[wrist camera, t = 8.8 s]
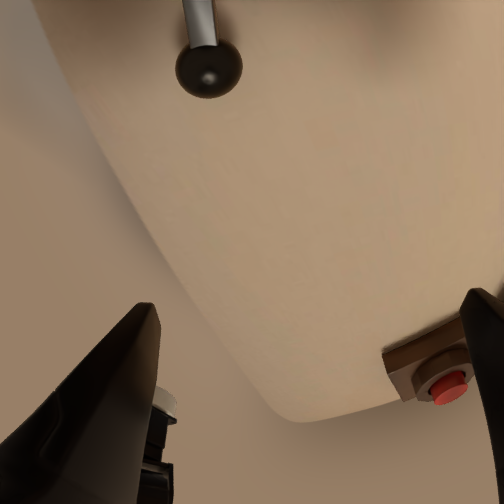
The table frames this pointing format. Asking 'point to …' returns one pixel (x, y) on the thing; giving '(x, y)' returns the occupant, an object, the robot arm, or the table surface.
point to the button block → (428, 361)
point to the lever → (206, 54)
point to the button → (448, 388)
